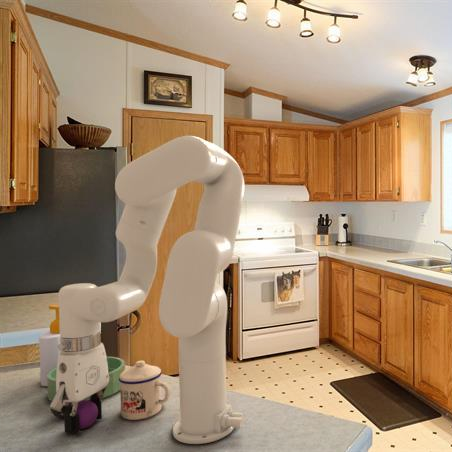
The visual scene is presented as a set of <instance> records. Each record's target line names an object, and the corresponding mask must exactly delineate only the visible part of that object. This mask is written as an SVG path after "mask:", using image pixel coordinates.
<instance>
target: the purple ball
mask: <svg viewBox="0 0 452 452" xmlns="http://www.w3.org/2000/svg"><path fill="white" fill-rule="evenodd" d="M76 414H79V430H82V429H86V428H89V427H90V426H92V425H93V424H94V423H95V422H96V420H97V416H98V408H97V406H96V404H95V403H94V402H92V401H89V400H84V401H80V402H78V407H77V411H76Z"/></svg>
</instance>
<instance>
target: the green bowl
mask: <svg viewBox="0 0 452 452" xmlns="http://www.w3.org/2000/svg"><path fill="white" fill-rule="evenodd" d="M106 357H107V364H108V375H109V376H110V381H109V383H108V385H107V386H106V390H105V392H104V394H103V396H104V398H103V399H105V398H108V397H110V396H112V395H114V394H116V393H117V392H120V381H119V376H120V374H121V373H122V372H124V371H125V370H126V361H125V360H124V359H123V358H120V357H117V356H106ZM56 372H57V367H56V368H54V369H52V370H51V371H50V372H49V373H48V374H47V386H46V387H47V399H48V400H49V401H50V402H52V400H53V399H54V397H55V395H56ZM84 400H91V399H90V398H89V397H87V398H85V399H84ZM84 400H82V401H84Z"/></svg>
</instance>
